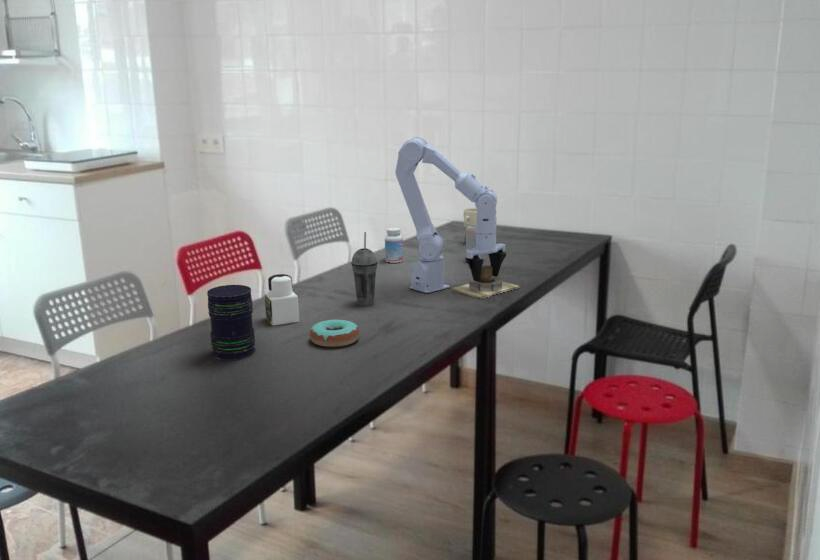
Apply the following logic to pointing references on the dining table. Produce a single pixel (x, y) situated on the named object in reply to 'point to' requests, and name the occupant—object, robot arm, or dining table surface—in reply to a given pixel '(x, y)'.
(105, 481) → the dining table surface
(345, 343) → the donut
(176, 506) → the dining table surface
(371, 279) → the beverage cup
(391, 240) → the pill bottle
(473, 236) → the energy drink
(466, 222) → the character mug
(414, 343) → the dining table surface
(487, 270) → the walnut peg
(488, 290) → the socket board
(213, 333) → the storage jar
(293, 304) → the white handled container
